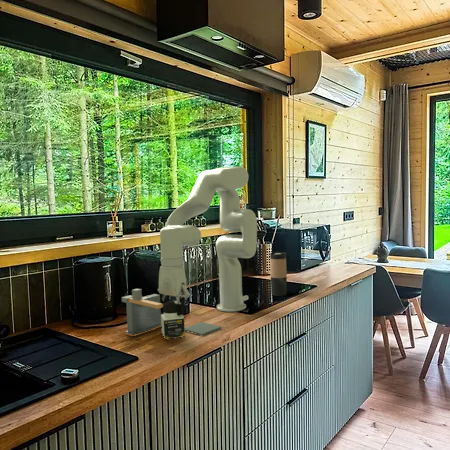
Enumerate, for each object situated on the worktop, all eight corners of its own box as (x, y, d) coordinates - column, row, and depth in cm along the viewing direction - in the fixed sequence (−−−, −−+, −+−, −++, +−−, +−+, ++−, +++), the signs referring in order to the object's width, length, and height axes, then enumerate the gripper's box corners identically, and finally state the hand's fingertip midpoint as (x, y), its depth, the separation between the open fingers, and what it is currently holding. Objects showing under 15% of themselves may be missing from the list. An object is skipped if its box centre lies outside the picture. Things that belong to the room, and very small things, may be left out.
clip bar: (130, 299, 153) (129, 286, 152) (164, 307, 140) (163, 293, 140) (121, 301, 150) (121, 288, 150) (156, 309, 138) (155, 295, 137)
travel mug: (286, 292, 208) (285, 251, 207) (287, 296, 201) (286, 254, 199) (270, 292, 209) (269, 252, 208) (271, 296, 202) (270, 254, 200)
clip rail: (155, 324, 163) (154, 293, 162) (163, 326, 160) (162, 294, 159) (125, 334, 152) (123, 301, 151) (133, 337, 149) (131, 303, 148)
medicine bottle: (164, 340, 145) (162, 305, 144) (161, 333, 152) (160, 300, 151) (185, 337, 147) (183, 303, 146) (181, 331, 154) (179, 298, 153)
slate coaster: (201, 323, 162) (201, 321, 162) (221, 328, 155) (221, 326, 155) (182, 330, 155) (182, 328, 154) (202, 336, 148) (202, 333, 148)
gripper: (147, 262, 151) (150, 311, 153) (181, 266, 140) (183, 319, 141) (164, 259, 157) (166, 307, 158) (197, 263, 146) (199, 314, 147)
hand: (174, 312), depth 150 cm, fingers closed on medicine bottle, 6 cm apart
